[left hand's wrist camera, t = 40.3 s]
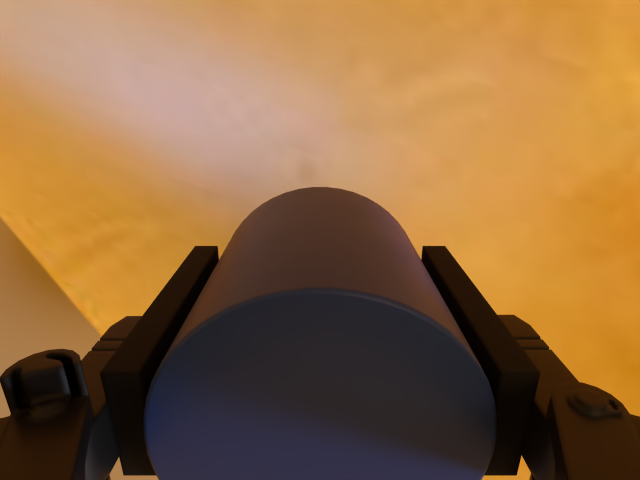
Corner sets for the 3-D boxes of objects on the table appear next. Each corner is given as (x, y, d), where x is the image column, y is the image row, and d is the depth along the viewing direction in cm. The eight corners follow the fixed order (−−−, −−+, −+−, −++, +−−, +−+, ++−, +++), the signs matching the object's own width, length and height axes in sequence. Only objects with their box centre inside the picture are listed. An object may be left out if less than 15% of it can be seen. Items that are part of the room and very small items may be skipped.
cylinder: (344, 388, 17) (361, 599, 10) (189, 304, 15) (85, 482, 8) (457, 255, 15) (576, 408, 8) (289, 144, 13) (257, 211, 6)
